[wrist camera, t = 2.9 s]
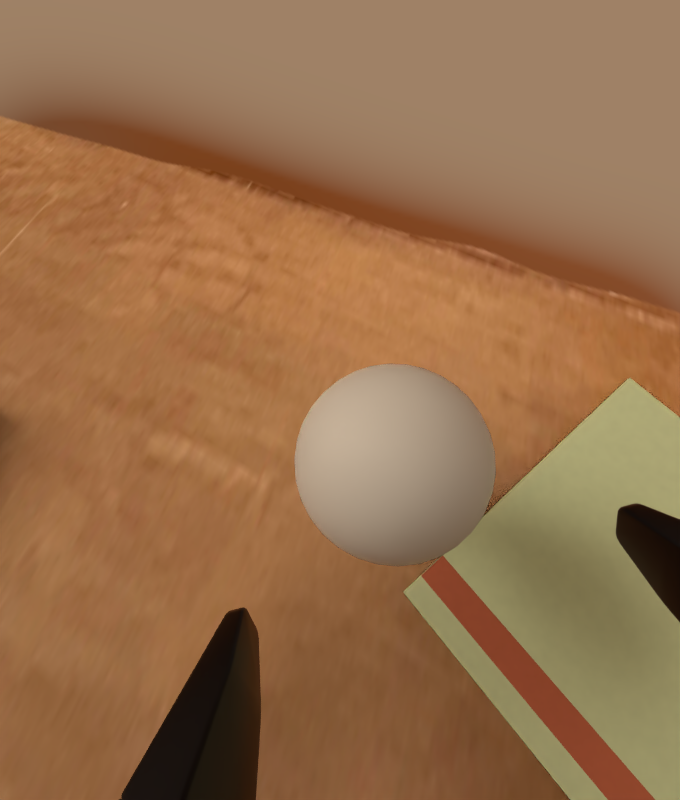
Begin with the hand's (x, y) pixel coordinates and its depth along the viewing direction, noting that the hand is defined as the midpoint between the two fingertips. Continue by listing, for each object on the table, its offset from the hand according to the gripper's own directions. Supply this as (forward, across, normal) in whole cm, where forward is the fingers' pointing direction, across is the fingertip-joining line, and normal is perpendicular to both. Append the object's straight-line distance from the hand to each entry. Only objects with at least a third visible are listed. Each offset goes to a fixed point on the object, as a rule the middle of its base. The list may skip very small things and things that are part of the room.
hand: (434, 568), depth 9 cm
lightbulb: (+10, 0, +5) cm, 11 cm away
